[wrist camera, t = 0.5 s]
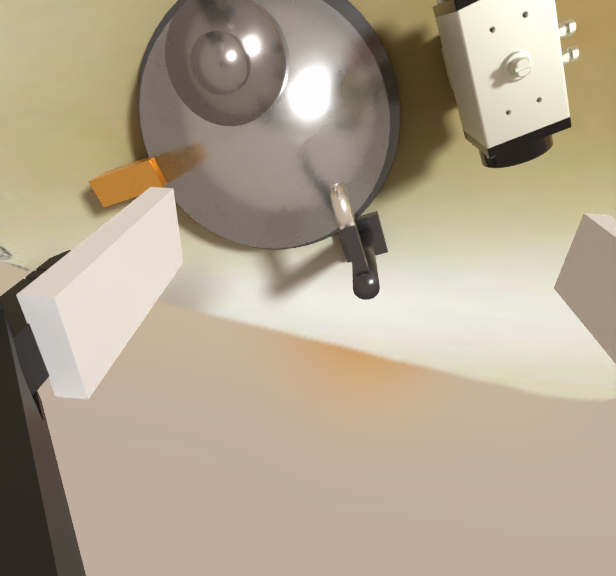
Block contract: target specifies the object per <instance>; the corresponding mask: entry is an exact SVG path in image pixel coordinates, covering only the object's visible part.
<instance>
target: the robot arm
mask: <svg viewBox="0 0 616 576" xmlns="http://www.w3.org/2000/svg"><path fill="white" fill-rule="evenodd" d="M182 264H183V256H182V249H181V241H180V234H179V226H178V219H177V211H176V204H175V197H174V189H173V188H159V187H150V188H149V189H147V190H146V191H145V192H144V193H142V194H141V195H140V196H139V197H137V198H136V199H135V200H134V201H132V202H131V203H130V204H129V205H127V206H126V207H125V208H124V209H122V210H121V211H120V212H119V213H117V214H116V215H115V216H114V217H112V218H111V219H110V220H109V221H107V222H106V223H105V224H104V225H103V226H101V227H100V228H99V229H98V230H96V231H95V232H94V233H93V234H91V235H90V236H89V237H88V238H86V239H85V240H84V241H83V242H81V243H80V244H79V245H78V246H76V247H75V248H74V249H73V250H68V251H65V252H63V253H61V254H59V255H56V256H54V257H52V258H50V259H48V260H47V261H46V262H44V263H43V264H42V265H41V266H39V267H38V268H37V270H36V271H33V272H31V273H30V274H29V275H28V276H26V279H22V280H21V281H20V282H18V283H17V284H16V285H15V286H13V287H12V288H11V289H9V290H8V291H7V292H6V293H4V294H3V295H2V296H0V576H86V575H85V571H84V566H83V563H82V558H81V555H80V551H79V547H78V543H77V539H76V535H75V531H74V527H73V523H72V519H71V515H70V511H69V507H68V503H67V500H66V496H65V492H64V488H63V484H62V480H61V476H60V472H59V468H58V464H57V460H56V456H55V452H54V448H53V445H52V440H51V436H50V433H49V429H48V425H47V421H46V417H45V413H44V409H43V405H42V401H41V399H40V396H39V394H38V392H37V390H38V389H39V387H40V386H41V385H42V384H43V383H44V381H45V380H46V379H47V378H49V381H50V383H51V386H52V388H53V391H54V394H55V396H56V397H66V398H78V399H89V398H90V396H91V395H92V393H93V392H94V390H95V389H96V387H97V386H98V385H99V383H100V382H101V380H102V379H103V377H104V376H105V375H106V373H107V372H108V370H109V369H110V367H111V366H112V365H113V363H114V362H115V360H116V359H117V357H118V356H119V354H120V353H121V352H122V350H123V349H124V347H125V346H126V344H127V343H128V341H129V340H130V339H131V337H132V336H133V334H134V333H135V331H136V330H137V329H138V327H139V326H140V324H141V323H142V321H143V320H144V319H145V317H146V316H147V314H148V313H149V311H150V310H151V308H152V307H153V306H154V304H155V303H156V301H157V300H158V298H159V297H160V296H161V294H162V293H163V291H164V290H165V288H166V287H167V285H168V284H169V283H170V281H171V280H172V278H173V277H174V275H175V274H176V273H177V271H178V270H179V268H180V267H181V265H182ZM554 289H555V290H556V291H557V292H558V294H559V295H560V296H561V297H562V299H563V300H564V301H565V302H566V303H567V305H568V306H569V307H570V308H571V310H572V311H573V312H574V313H575V314H576V316H577V317H578V318H579V319H580V321H581V322H582V323H583V324H584V326H585V327H586V328H587V329H588V330H589V332H590V333H591V334H592V335H593V337H594V338H595V339H596V340H597V341H598V343H599V344H600V345H601V346H602V348H603V349H604V350H605V351H606V352H607V354H608V355H609V356H610V357H611V359H612V360H613V361H614V362H615V363H616V219H614V218H613V217H611V216H610V215H604V214H587V213H584V215H583V217H582V220H581V222H580V224H579V227H578V229H577V232H576V234H575V237H574V239H573V242H572V244H571V247H570V249H569V252H568V254H567V257H566V259H565V262H564V264H563V267H562V269H561V272H560V274H559V277H558V279H557V281H556V284H555V286H554Z"/></svg>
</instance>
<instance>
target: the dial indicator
mask: <svg viewBox="0 0 616 576" xmlns="http://www.w3.org/2000/svg"><path fill="white" fill-rule="evenodd" d="M329 194H330V199H331V203H332V207H333V211H334V214H335V217H336V220H337V223H338V225H339V227H340V229H342V230H341V231H339V232H338V234H339V237H340V240H341V243H342V246H343V249H344V253H345V256H346V259H347V262H352V268H353V291H354V294H355V295H356V296H357V297H358V298H361V299H365V300H367V299H372V298H374V297H375V296H376V295H377V294H378V292H379V289H380V287H379V279H378V272H377V265H376V257H375V255H379V254H382V253H386V252H388V250H387V246H386V242H385V238H384V235H383V231H382V227H381V223H380V220H379V216H378V212H377V211H376V212H373V213H369V214H366V215H362V216H359V217H358V218H356V219H354V214H353V210H352V206H351V202H350V198H349V195H348V192H347V189H346V186H345V184H344V182H343V181H342V182H339V183H336V184H333V185H329Z"/></svg>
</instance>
